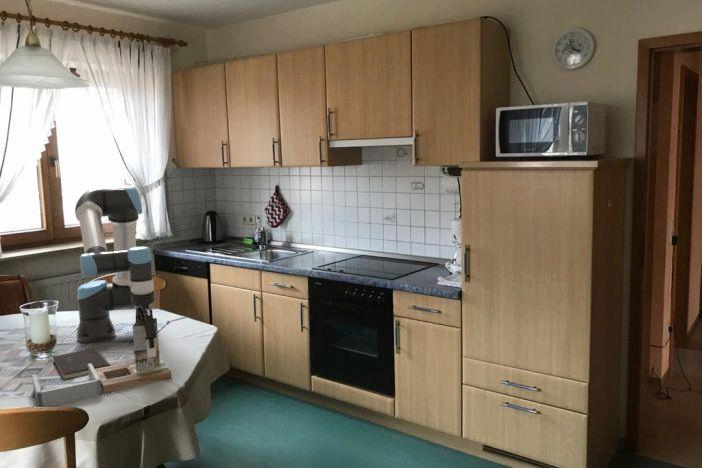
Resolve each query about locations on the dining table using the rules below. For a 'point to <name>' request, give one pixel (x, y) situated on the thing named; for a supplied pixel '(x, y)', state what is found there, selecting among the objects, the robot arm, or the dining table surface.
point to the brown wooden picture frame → (130, 375)
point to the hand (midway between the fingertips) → (147, 351)
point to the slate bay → (68, 390)
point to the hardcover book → (79, 362)
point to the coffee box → (144, 347)
